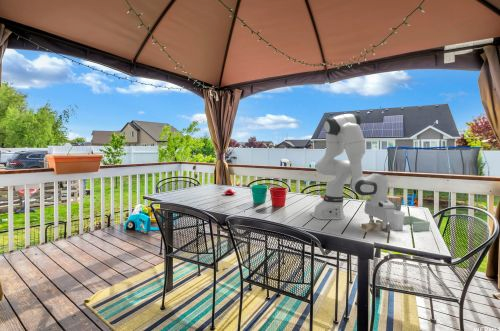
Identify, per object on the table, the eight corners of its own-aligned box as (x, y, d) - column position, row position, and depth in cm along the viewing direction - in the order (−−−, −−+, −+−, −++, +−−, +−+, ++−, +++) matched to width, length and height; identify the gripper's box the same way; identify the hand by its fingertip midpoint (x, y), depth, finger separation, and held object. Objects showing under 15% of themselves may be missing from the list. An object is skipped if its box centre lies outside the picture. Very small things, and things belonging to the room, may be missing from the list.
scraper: (368, 234, 134) (368, 226, 134) (357, 228, 143) (358, 221, 143) (389, 232, 137) (390, 224, 137) (378, 227, 146) (378, 219, 146)
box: (413, 231, 138) (414, 223, 138) (396, 224, 151) (396, 216, 150) (429, 230, 141) (429, 221, 140) (410, 223, 153) (411, 215, 152)
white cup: (385, 226, 147) (386, 210, 146) (397, 226, 148) (398, 210, 147) (393, 231, 139) (394, 214, 138) (406, 230, 140) (408, 213, 139)
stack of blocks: (368, 213, 175) (369, 196, 174) (365, 211, 181) (366, 194, 180) (400, 214, 172) (401, 197, 171) (396, 212, 178) (397, 195, 177)
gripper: (362, 198, 148) (361, 220, 149) (386, 205, 128) (385, 231, 129) (371, 197, 149) (370, 219, 150) (396, 205, 129) (395, 231, 130)
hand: (377, 225), depth 139 cm, fingers open, 8 cm apart
